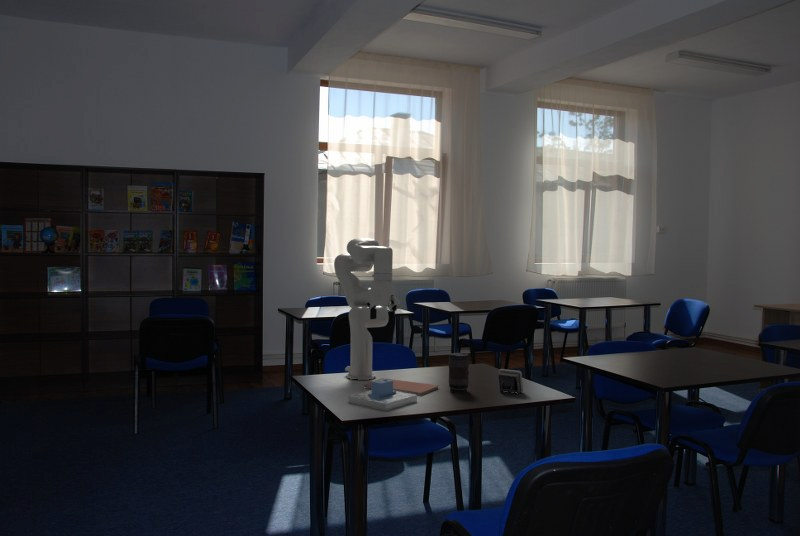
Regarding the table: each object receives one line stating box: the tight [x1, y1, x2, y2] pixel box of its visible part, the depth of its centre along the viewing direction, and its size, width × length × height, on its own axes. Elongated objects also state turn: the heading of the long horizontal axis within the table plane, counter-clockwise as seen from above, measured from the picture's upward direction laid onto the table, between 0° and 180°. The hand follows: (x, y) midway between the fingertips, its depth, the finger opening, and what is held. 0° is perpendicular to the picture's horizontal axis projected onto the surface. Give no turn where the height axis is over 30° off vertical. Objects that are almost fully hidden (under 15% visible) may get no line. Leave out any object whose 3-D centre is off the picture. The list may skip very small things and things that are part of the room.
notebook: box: [362, 377, 440, 397], centre depth 261 cm, size 27×17×2 cm, turn 60°
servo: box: [368, 377, 396, 398], centre depth 239 cm, size 11×4×8 cm, turn 141°
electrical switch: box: [498, 368, 524, 394], centre depth 256 cm, size 9×5×9 cm, turn 59°
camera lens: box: [448, 352, 470, 394], centre depth 257 cm, size 8×8×15 cm
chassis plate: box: [347, 389, 418, 412], centre depth 237 cm, size 18×18×2 cm
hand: (382, 320), depth 258 cm, fingers open, 9 cm apart
